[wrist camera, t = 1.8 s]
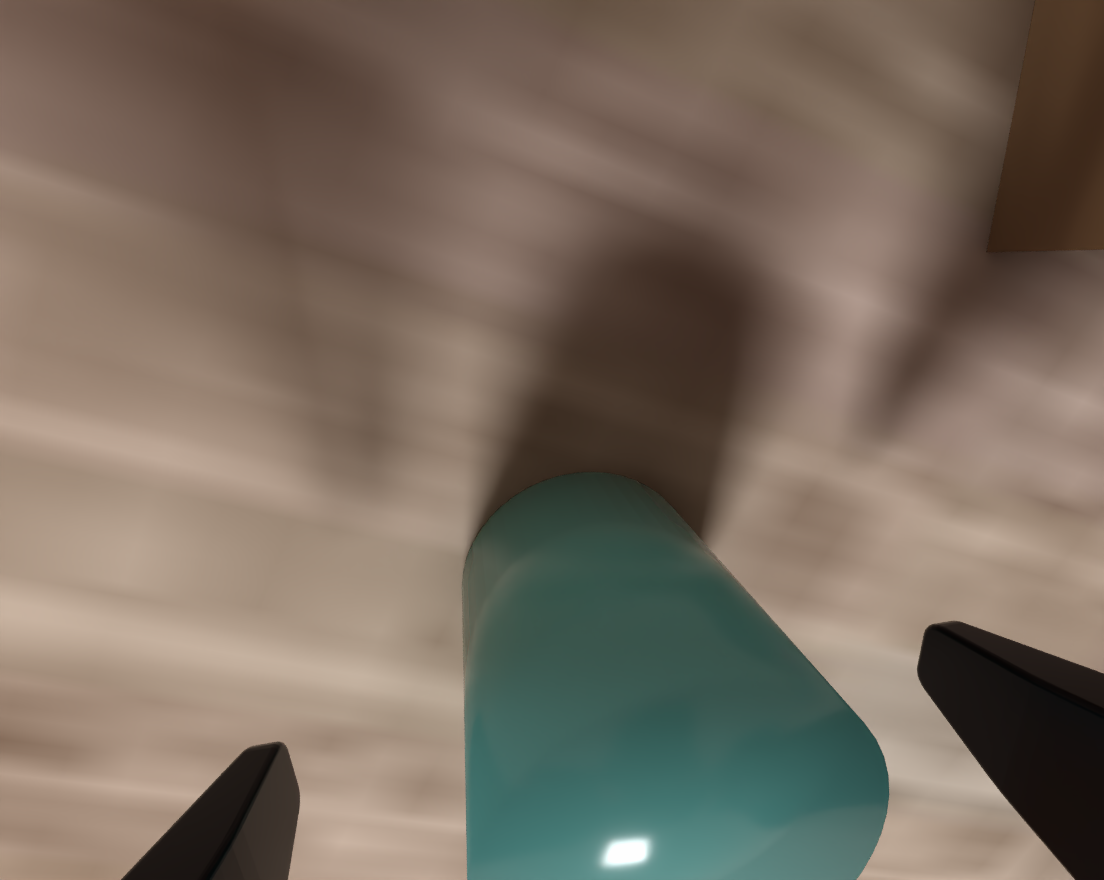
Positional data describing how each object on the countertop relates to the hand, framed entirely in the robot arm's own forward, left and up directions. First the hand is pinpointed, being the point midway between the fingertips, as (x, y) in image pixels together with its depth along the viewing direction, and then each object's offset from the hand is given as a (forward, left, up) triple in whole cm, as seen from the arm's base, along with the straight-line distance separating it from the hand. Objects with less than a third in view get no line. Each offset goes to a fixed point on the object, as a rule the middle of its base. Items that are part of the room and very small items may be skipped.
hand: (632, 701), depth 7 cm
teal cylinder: (0, 0, -3) cm, 3 cm away
